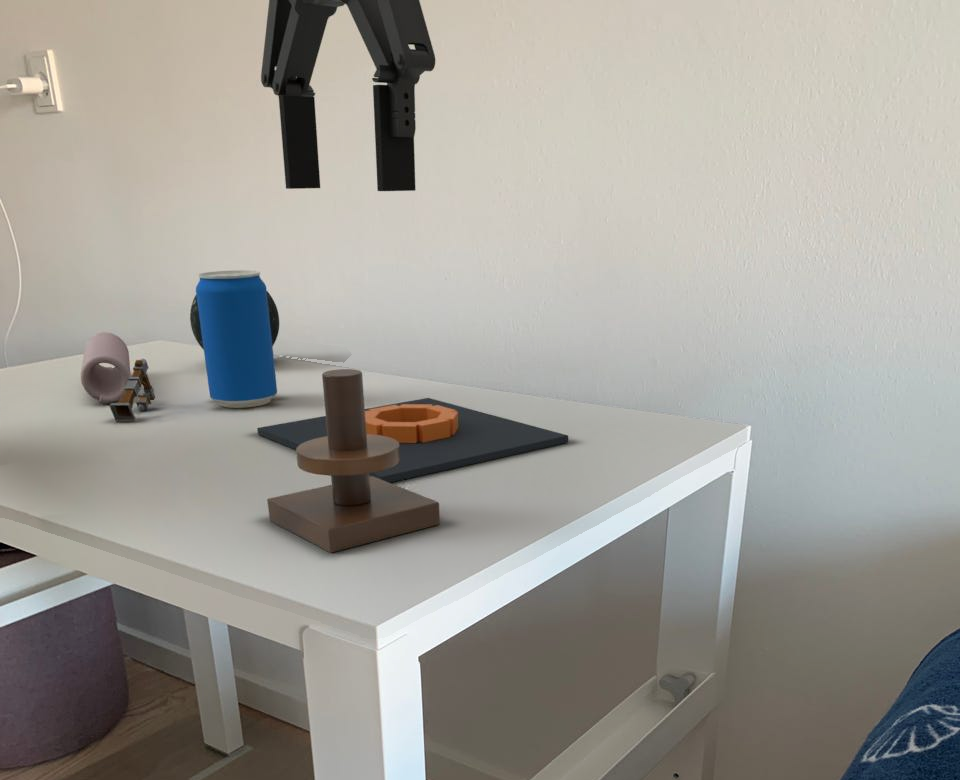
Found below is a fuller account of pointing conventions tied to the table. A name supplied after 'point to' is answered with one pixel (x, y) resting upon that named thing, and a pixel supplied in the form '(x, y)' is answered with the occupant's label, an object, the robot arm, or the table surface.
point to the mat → (437, 441)
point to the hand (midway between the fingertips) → (347, 190)
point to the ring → (412, 422)
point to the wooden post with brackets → (134, 393)
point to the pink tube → (100, 379)
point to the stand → (350, 479)
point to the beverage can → (236, 338)
